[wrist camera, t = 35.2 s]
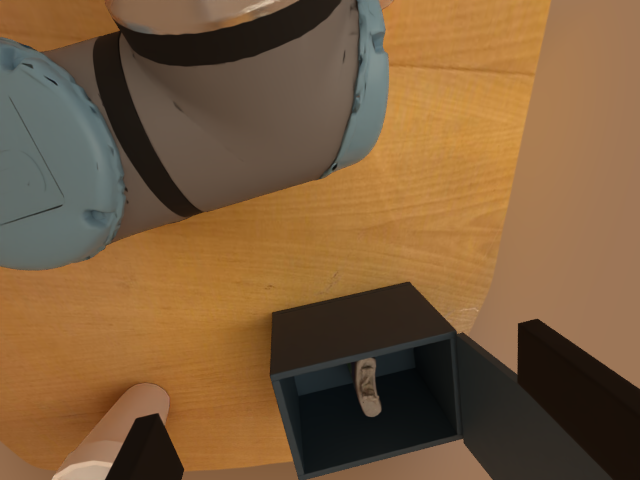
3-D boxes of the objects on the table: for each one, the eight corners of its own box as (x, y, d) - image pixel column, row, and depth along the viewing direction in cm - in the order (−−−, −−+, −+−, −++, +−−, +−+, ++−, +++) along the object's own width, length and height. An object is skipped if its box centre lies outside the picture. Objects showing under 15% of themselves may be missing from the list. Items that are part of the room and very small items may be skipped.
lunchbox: (294, 397, 48) (299, 481, 36) (272, 312, 44) (269, 375, 32) (419, 367, 50) (464, 438, 37) (409, 281, 45) (457, 330, 33)
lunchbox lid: (713, 758, 18) (791, 700, 19) (774, 592, 13) (871, 530, 14) (463, 443, 37) (509, 424, 38) (456, 334, 33) (508, 316, 34)
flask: (365, 368, 48) (388, 428, 37) (345, 372, 47) (363, 434, 37) (357, 313, 45) (379, 361, 35) (336, 317, 45) (352, 367, 34)
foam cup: (173, 368, 45) (132, 453, 32) (188, 421, 47) (155, 518, 35) (101, 380, 44) (31, 471, 31) (120, 433, 47) (63, 537, 34)
